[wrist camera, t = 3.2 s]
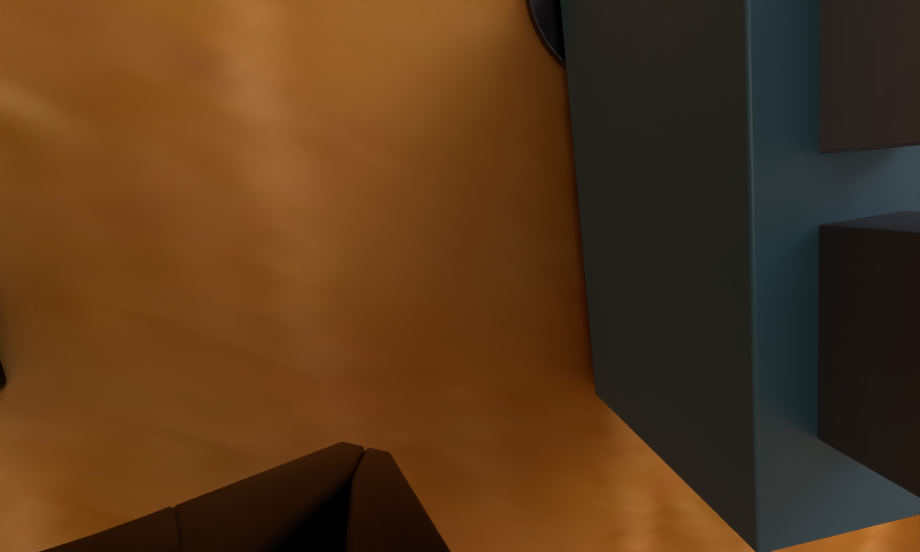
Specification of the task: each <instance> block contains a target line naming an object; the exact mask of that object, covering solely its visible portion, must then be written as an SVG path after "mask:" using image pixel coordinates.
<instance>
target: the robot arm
mask: <svg viewBox="0 0 920 552" xmlns="http://www.w3.org/2000/svg"><path fill="white" fill-rule="evenodd" d="M5 384H6V376H5V373H4V370H3V367H2V364H1V362H0V391H1V390H2V389H3V388H4V387H5ZM40 552H451V551H450V550H449V548H448V546H447V545H446V543H445V542H444V540H443V538H442V537H441V535H440V533H439V532H438V530H437V529H436V527H435V525H434V524H433V522H432V520H431V519H430V517H429V516H428V514H427V512H426V511H425V509H424V507H423V506H422V504H421V503H420V501H419V499H418V498H417V496H416V494H415V493H414V491H413V490H412V488H411V486H410V485H409V483H408V481H407V480H406V478H405V477H404V475H403V473H402V472H401V470H400V468H399V467H398V465H397V464H396V462H395V460H394V459H393V457H392V456H391V454H390V453H389V452H385V451H381V450H377V449H372V448H367V449H366V450H365V452H364V448H363V447H362V446H359V445H355V444H351V443H346V442H339V443H337V444H334V445H332V446H329V447H326V448H324V449H321V450H319V451H316V452H313V453H311V454H308V455H306V456H303V457H300V458H298V459H295V460H293V461H290V462H287V463H285V464H282V465H279V466H277V467H274V468H272V469H269V470H266V471H264V472H261V473H259V474H256V475H253V476H251V477H248V478H246V479H243V480H240V481H238V482H235V483H233V484H230V485H227V486H225V487H222V488H220V489H217V490H214V491H212V492H209V493H206V494H204V495H201V496H199V497H196V498H193V499H191V500H188V501H186V502H183V503H180V504H178V505H176V506H175V507H174V508H173V507H167V508H164V509H162V510H159V511H157V512H154V513H151V514H149V515H146V516H143V517H141V518H138V519H135V520H132V521H130V522H127V523H124V524H121V525H118V526H116V527H113V528H110V529H107V530H105V531H102V532H99V533H96V534H93V535H90V536H87V537H84V538H81V539H78V540H75V541H72V542H68V543H65V544H62V545H59V546H56V547H53V548H50V549H46V550H43V551H40Z"/></svg>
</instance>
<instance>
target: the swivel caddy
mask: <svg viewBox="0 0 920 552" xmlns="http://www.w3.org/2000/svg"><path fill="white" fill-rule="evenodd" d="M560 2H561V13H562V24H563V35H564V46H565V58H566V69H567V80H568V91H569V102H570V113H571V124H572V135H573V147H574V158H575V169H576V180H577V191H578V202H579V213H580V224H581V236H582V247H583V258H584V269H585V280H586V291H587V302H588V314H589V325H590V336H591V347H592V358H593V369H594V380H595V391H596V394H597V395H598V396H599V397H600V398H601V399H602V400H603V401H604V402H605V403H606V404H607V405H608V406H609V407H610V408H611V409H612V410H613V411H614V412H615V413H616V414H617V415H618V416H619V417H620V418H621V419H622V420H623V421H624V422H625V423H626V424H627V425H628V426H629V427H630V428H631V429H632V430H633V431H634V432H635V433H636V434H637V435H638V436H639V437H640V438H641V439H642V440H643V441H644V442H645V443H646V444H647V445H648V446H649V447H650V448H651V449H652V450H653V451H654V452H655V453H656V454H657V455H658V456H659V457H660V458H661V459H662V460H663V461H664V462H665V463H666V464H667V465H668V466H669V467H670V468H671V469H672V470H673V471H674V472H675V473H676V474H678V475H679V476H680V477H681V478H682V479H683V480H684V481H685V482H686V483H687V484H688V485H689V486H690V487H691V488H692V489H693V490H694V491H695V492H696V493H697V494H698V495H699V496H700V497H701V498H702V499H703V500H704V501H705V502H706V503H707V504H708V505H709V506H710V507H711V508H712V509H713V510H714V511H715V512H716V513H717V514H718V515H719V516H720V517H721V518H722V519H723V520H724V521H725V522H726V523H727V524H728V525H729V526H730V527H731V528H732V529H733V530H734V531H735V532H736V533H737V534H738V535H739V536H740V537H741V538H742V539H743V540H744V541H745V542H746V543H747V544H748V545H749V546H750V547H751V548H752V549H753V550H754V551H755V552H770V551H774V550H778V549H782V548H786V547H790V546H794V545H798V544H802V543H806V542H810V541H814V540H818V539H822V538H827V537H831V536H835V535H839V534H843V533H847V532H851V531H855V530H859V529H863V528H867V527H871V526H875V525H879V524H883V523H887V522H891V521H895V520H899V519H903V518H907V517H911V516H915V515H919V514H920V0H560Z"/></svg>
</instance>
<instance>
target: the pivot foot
mask: <svg viewBox="0 0 920 552" xmlns="http://www.w3.org/2000/svg"><path fill="white" fill-rule="evenodd" d="M526 2H527V8H528V11H529V15H530V18H531V22H532V24H533V26H534V29H535V31H536V33H537V35H538V37H539V39H540V40H541V42H542V44H543V45H544V47H545V48H546V49H547V51H548V52H549V53H550V55H551V56H552V57H553V58H554V59H555V60H556V61H557V62H558V63H559V64H560V65H562V66H563V67H564V68H566V58H565V46H564V35H563V24H562V13H561V2H560V0H526Z"/></svg>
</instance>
